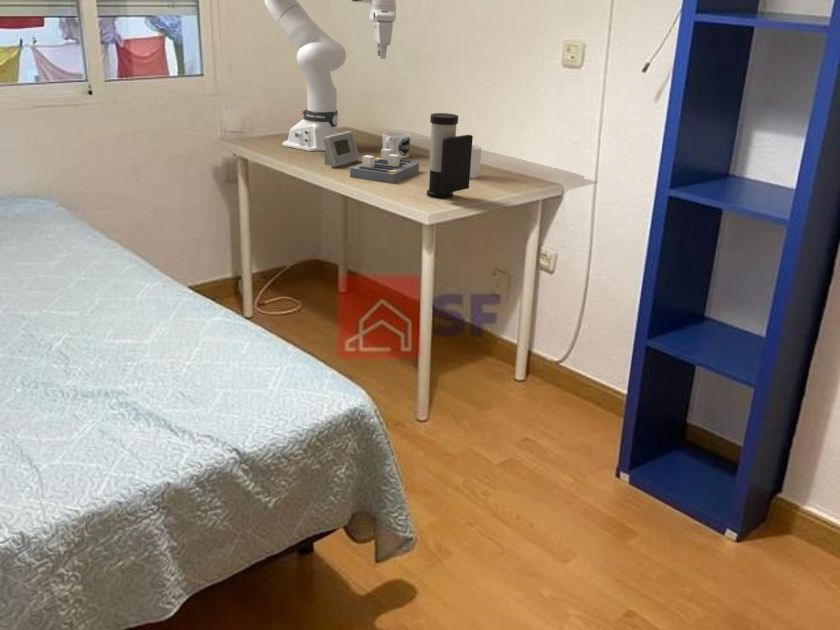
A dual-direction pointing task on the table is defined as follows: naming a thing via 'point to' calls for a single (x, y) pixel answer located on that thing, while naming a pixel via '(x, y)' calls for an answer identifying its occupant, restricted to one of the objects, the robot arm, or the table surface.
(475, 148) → the mug
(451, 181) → the light fixture
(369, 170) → the switch unit
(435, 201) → the table surface
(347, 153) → the digital clock
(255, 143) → the table surface
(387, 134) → the mug
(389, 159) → the slider
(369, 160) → the slider
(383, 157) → the slider
